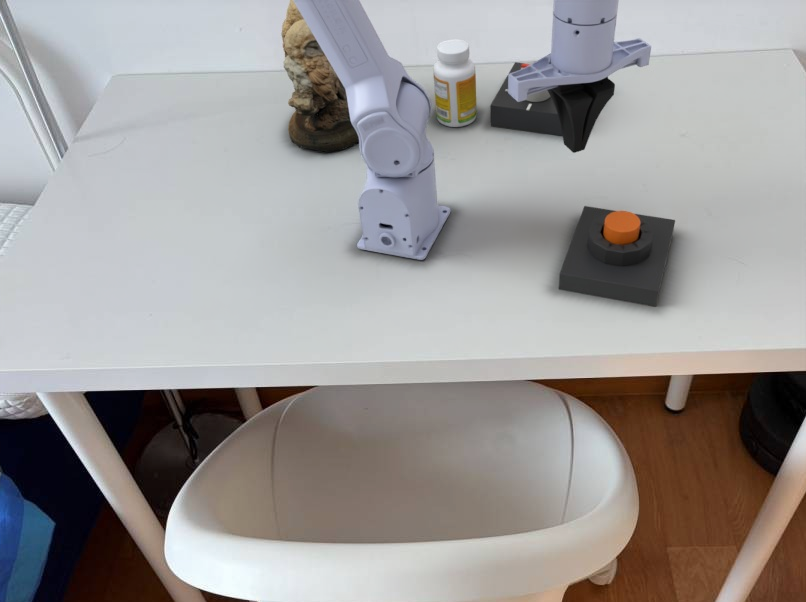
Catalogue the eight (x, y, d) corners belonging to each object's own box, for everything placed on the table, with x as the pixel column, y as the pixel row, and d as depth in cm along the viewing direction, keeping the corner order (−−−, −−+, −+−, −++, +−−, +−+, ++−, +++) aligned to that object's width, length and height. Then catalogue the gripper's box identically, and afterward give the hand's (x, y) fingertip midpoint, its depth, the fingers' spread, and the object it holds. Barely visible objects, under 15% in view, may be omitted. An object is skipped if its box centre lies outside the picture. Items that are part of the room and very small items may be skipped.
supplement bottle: (478, 107, 107) (476, 36, 100) (475, 128, 103) (472, 56, 96) (439, 106, 107) (434, 36, 100) (434, 127, 104) (428, 56, 97)
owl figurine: (351, 165, 99) (328, 28, 86) (268, 151, 102) (234, 17, 89) (404, 95, 110) (391, -35, 97) (328, 84, 113) (305, -43, 100)
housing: (655, 307, 80) (661, 277, 77) (558, 289, 82) (560, 259, 79) (672, 236, 87) (678, 205, 84) (583, 221, 89) (585, 191, 86)
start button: (635, 248, 80) (637, 234, 79) (600, 242, 81) (601, 228, 80) (641, 227, 82) (643, 213, 81) (606, 221, 83) (608, 208, 82)
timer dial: (554, 88, 103) (555, 60, 101) (546, 103, 101) (548, 75, 98) (525, 84, 104) (525, 57, 102) (516, 99, 102) (517, 71, 99)
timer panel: (564, 136, 101) (566, 114, 99) (490, 126, 104) (489, 104, 101) (584, 91, 109) (586, 69, 106) (514, 82, 111) (515, 60, 109)
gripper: (628, -21, 75) (612, 111, 85) (492, 12, 71) (493, 146, 81) (672, 6, 71) (650, 142, 81) (530, 44, 67) (526, 181, 77)
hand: (574, 146), depth 81 cm, fingers closed
